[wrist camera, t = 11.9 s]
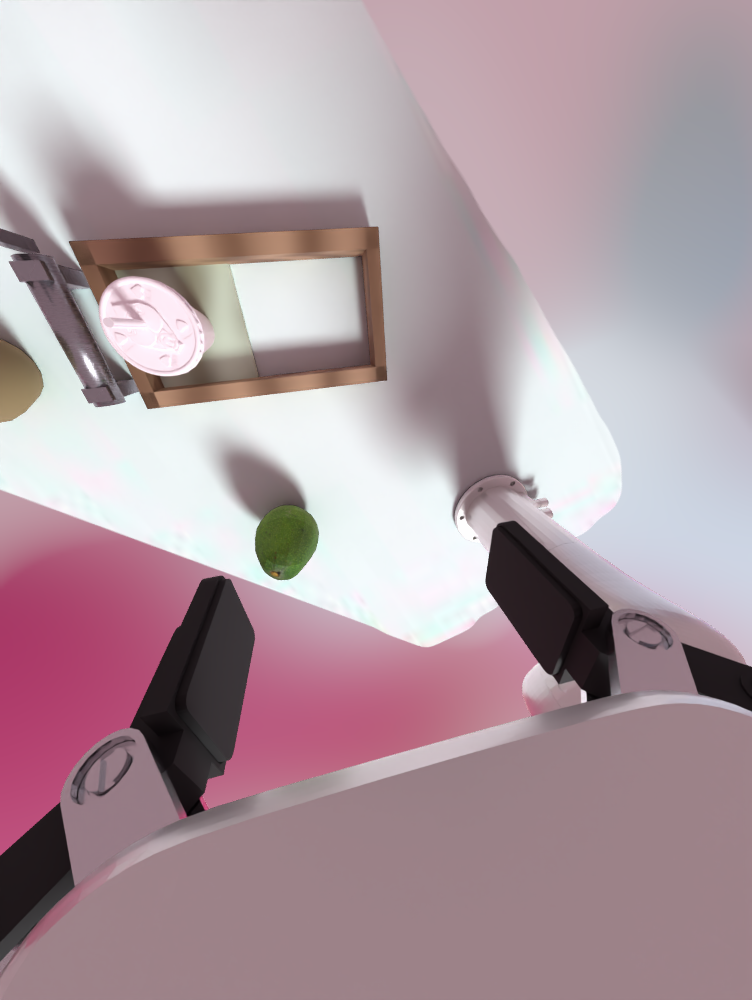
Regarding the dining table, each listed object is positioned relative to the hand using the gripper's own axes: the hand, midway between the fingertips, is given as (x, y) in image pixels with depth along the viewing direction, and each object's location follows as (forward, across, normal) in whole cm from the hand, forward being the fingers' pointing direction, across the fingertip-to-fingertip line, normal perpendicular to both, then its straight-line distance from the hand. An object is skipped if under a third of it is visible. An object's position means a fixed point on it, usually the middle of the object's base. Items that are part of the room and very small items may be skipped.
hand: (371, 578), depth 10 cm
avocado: (+30, +8, +15) cm, 35 cm away
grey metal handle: (+29, +21, -9) cm, 37 cm away
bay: (+30, +6, -9) cm, 32 cm away
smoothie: (+29, +12, -9) cm, 33 cm away
